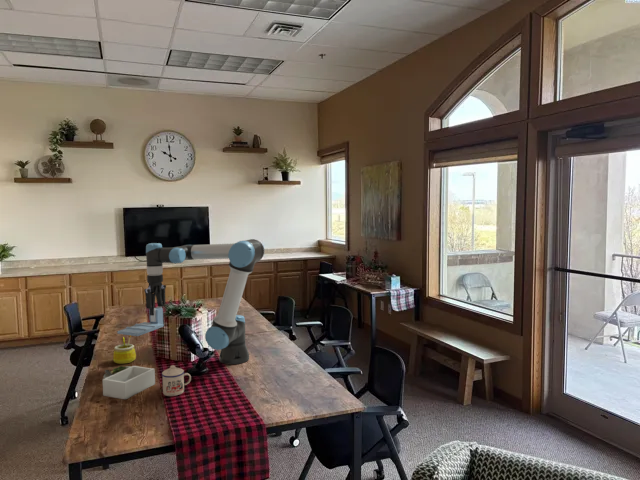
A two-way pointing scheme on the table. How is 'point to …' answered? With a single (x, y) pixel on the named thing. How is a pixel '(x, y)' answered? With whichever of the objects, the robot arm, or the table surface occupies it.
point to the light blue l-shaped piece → (144, 325)
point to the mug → (124, 353)
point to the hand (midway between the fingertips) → (156, 320)
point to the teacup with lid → (174, 381)
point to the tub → (128, 382)
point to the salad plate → (114, 371)
